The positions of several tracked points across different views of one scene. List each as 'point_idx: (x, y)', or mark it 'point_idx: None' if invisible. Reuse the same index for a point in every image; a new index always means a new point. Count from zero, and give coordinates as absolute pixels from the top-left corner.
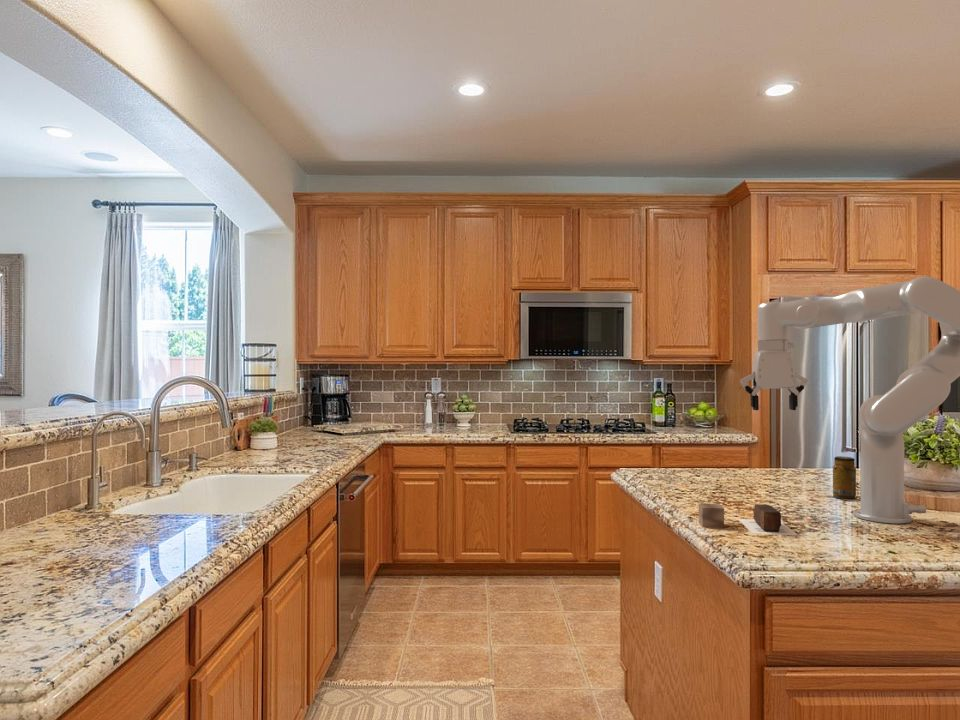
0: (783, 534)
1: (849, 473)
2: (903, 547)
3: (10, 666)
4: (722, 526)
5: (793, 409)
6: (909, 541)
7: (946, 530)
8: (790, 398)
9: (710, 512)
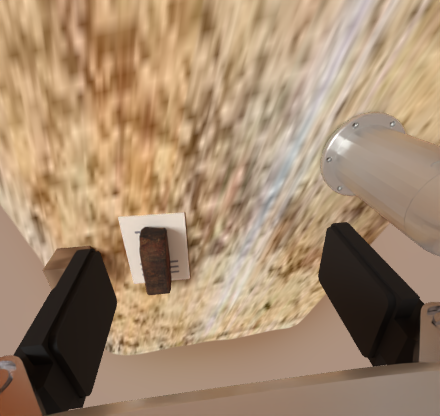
0: (172, 279)
1: None
2: (289, 289)
3: None
4: None
5: (321, 277)
6: (311, 268)
7: None
8: (365, 302)
9: None
